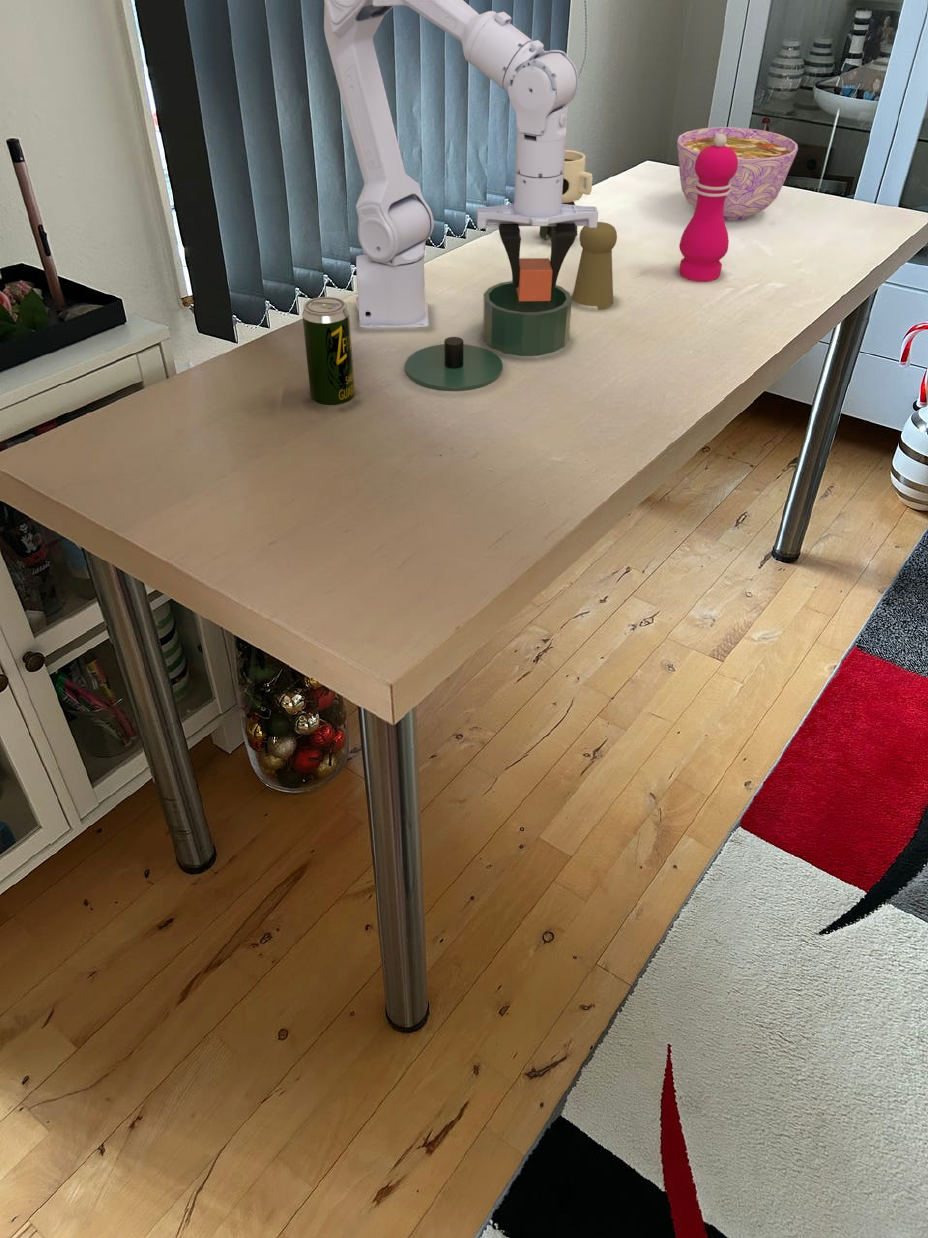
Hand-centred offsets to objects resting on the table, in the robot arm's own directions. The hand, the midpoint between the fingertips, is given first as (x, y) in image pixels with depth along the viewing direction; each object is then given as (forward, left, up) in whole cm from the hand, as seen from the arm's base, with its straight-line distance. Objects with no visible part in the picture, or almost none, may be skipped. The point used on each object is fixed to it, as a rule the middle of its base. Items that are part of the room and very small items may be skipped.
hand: (533, 284), depth 127 cm
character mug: (+9, +43, -10) cm, 45 cm away
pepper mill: (+29, +27, -10) cm, 40 cm away
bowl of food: (+40, +55, -10) cm, 68 cm away
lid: (-10, -5, -9) cm, 14 cm away
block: (0, 0, -1) cm, 1 cm away
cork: (+11, +17, -10) cm, 22 cm away
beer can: (-25, -12, -10) cm, 30 cm away
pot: (0, +4, -9) cm, 10 cm away
